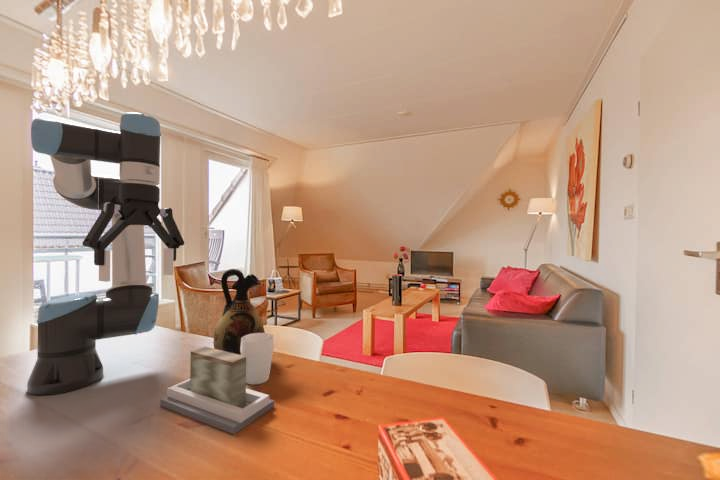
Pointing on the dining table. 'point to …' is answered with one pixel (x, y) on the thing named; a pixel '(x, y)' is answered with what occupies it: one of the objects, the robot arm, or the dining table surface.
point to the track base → (212, 416)
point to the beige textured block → (218, 375)
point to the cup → (257, 356)
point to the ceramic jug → (237, 314)
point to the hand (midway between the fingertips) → (139, 277)
